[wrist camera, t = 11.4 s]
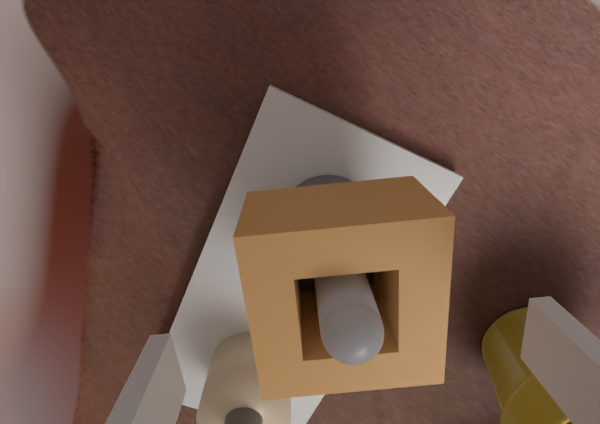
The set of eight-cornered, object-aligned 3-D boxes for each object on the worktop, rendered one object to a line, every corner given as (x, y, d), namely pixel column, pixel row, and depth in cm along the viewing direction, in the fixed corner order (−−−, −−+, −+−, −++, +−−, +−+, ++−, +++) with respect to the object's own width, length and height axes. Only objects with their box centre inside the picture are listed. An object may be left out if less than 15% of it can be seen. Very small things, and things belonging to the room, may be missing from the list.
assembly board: (296, 425, 33) (300, 644, 20) (149, 381, 30) (55, 598, 18) (455, 172, 24) (623, 287, 12) (270, 84, 22) (245, 116, 10)
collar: (410, 312, 21) (443, 383, 16) (268, 325, 21) (262, 400, 17) (412, 175, 18) (455, 216, 13) (247, 191, 18) (232, 237, 14)
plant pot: (431, 367, 31) (490, 497, 22) (505, 265, 27) (613, 369, 18) (534, 402, 32) (629, 536, 23) (616, 310, 29) (765, 426, 20)
